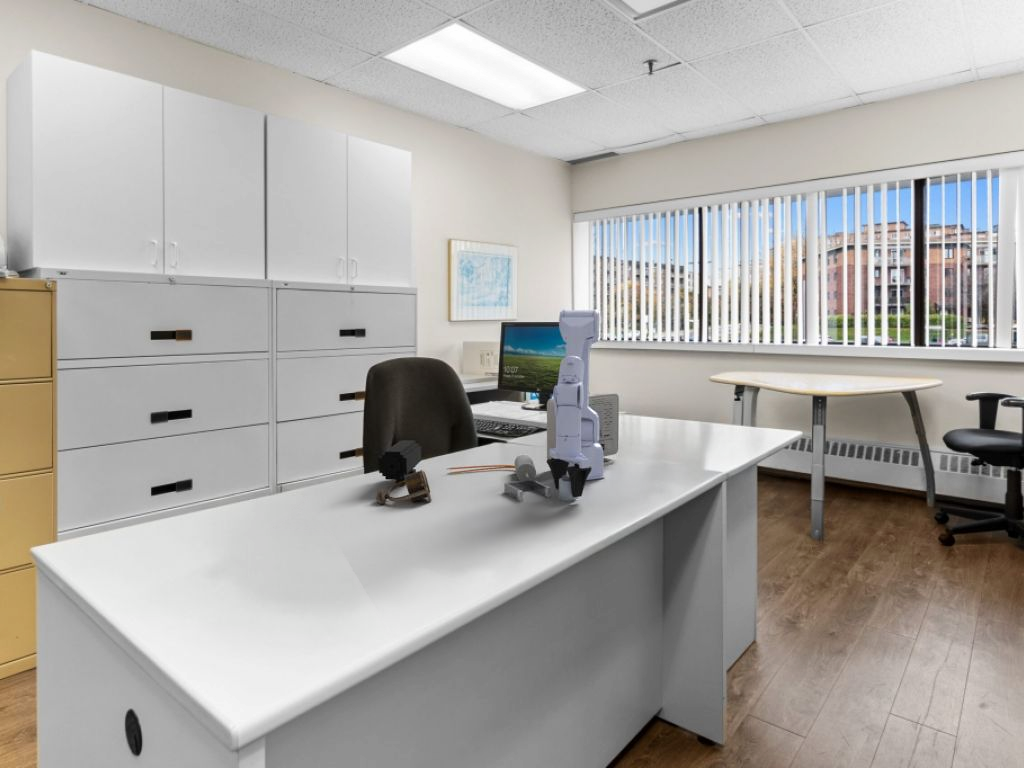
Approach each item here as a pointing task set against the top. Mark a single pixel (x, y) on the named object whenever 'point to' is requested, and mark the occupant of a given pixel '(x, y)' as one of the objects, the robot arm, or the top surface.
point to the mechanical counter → (415, 488)
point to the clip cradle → (525, 488)
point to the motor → (522, 466)
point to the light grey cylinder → (565, 489)
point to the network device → (608, 419)
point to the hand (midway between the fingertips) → (568, 492)
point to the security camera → (400, 460)
